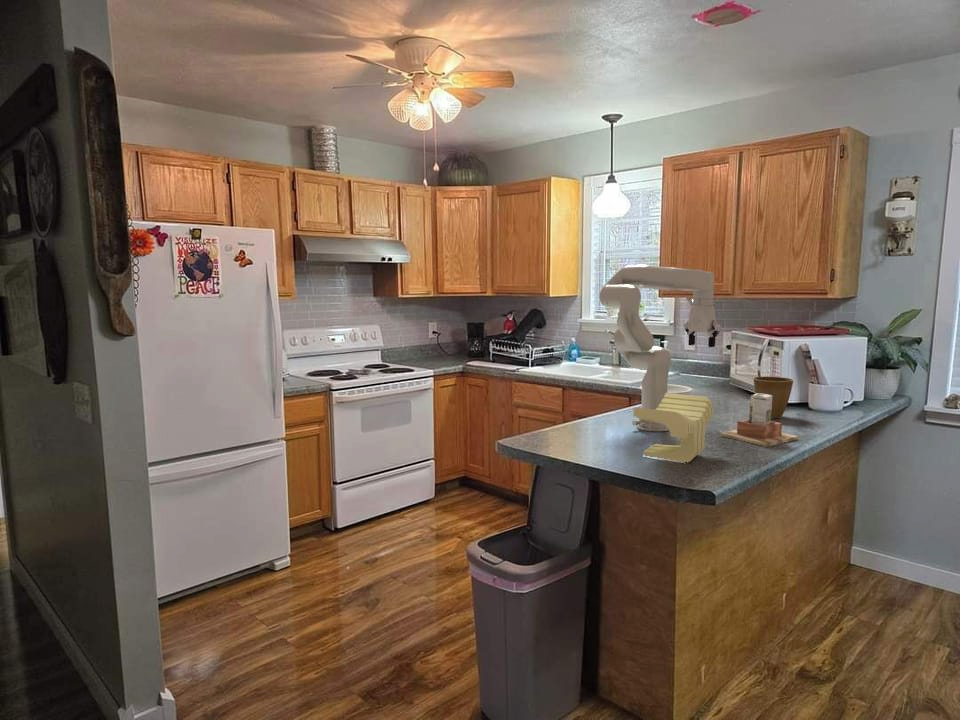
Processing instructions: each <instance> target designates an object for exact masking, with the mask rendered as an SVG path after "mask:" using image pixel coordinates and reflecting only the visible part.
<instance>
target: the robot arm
mask: <svg viewBox="0 0 960 720" xmlns="http://www.w3.org/2000/svg"><path fill="white" fill-rule="evenodd" d="M714 282H715V275H714V273H713V272H712V271H707V270H703V269H693V268H692V269H691V268H690V269H689V268H680V267H679V268H678V267H667V266H658V265H649V264H635V265H629V264H628V265H625V266H623V267H622V268H620V269H619V270H618V271H617V272H615V274H614V275H613V276H612V277H611V278H610V279H609V280H607V282H606V283H605V284H604V285H603V286H602V288H601V290H600V292H599V295H598V296H599V297H598V298H599V301H600V304H602V305H603V306H604V307H606V308H611V309H612V308H613V309H615V308H616V309H619V312H618V315H617V319H616V324H617V329H616V330H615V332H614V333H613V344H614V347H615V349H616V350H617V352H618V353H619V355H621V357H622V358H623V359H624V360H625V362H626V363H627V365H629V366H630V367H632V368H634V369H637V370H642V371H646V373H644V376H643V378H642V380H641V386H642V390H641V405H640V406H641V407H640V408H644V409H653V410H656V408H658V406H659V404H660V403H661V401H662V399H663V398H664V395H665V393H667V392H668V384H669V383H668V382H669V374H670V368H671V365H672V364H671V363H672V355H671V353H670V351H669V350H668V349H666V348H665V347H662V346H658V345H657V346H655V338H654V336H653V334H652V333H651V331H650V330H649V328H648V327H647V326H646V325H645V323H644V322H643V320H642V318H641V317H640V315H639V312H640V305H641V300H642V294H641V291H640V289H649V290H651V289H652V290H660V291H671V290H672V291H676V290H680V291H684V292H685V291H686V292H687V291H688V292H689V291H690V292H693V294H692V299H691V304H692V306H690V308H689V309H690V310H689V313H688V314H689V315H688V321H687V322H686V323H684V324H683V327H684V330H685V332H686V333H687V336H688V346H695V345H696V335H695V334H696V333H697V332H698V333H707V334H708V335H709V336H708V344H707V347H708V348H715V347H716V337H717V336H718V335H719V334H720V333H721V329H722V325H720V323H718V322H716V321H717V320H716V312H715V306H714V285H715V283H714ZM717 338H718V337H717ZM631 422H632V425H633V426H634V427H635V426H636V428H637V429H639V430H641V431H645V432H667V431H669V429H668V428H667V427H666V426H665V425H664V424H661V423H657V422H651V421H645V420H643V419H640V418H637V419H636V420H635V419H634V420H632V421H631Z"/></svg>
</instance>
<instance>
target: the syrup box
mask: <svg viewBox="0 0 960 720" xmlns="http://www.w3.org/2000/svg"><path fill="white" fill-rule="evenodd" d="M749 405H750V406H749V418H748V419H749V423H752V424H757V425H762V426H764V425H769V424H771V421H772V418H771V411H772V395H768V394H760V393H757V394H755V393H754V394H751V395H750V402H749Z"/></svg>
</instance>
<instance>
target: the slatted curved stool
mask: <svg viewBox="0 0 960 720" xmlns="http://www.w3.org/2000/svg"><path fill="white" fill-rule="evenodd" d="M633 417H634V418H636V419H639V418H640V419H643V420H645V421H651V422H657V423H661V424H664V425H665V426H666V427H667V428H668V429H669V430H668V431H669V433H670V438H671V437H672V438H673V437H674V438H679V440H680V444H679V445H677V444H676V445H674V444H673V445H671V444H661V443H654V444H653V445H652V446H649V447H648V448H647V449H645V450H643V453H642V456H643V455H645V456H650V457H657V458H664V459H670V460H676V461H682V462H687V463H686V464H688V463H689V462H691V461H692V460H693V459H695V457H697V456H698V455H699V454H701V453H702V452H703V450H704V449H705V439H706V438H705V437H706V431H707V426H708V423H709V421H711V420H713V419H714V404H713V402H712V401H711V400H710V399H709V398H708V397H707V396H703V395H694V394H688V395H684V394H673V393H665V395H664V398H663V399H662V401H661V403H660V404H659V406H658V408H656V410H653V409H644V408H641V407H633Z"/></svg>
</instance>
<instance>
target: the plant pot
mask: <svg viewBox="0 0 960 720" xmlns="http://www.w3.org/2000/svg"><path fill="white" fill-rule="evenodd" d="M752 380H753V386H754V392H755V393H754V394H757V393H760V394H768V395H772V411H771V419H781V418H782V417H783V415H784V413H785V411H786V408H787V405H788V403H789V400H790V397H791V393H792V389H793V385H794V379H793V378H789V377H782V376H781V377H780V376H755V377H753V379H752ZM780 417H781V418H780Z"/></svg>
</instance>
